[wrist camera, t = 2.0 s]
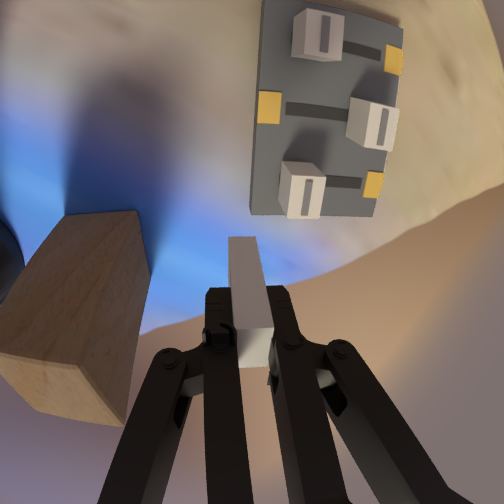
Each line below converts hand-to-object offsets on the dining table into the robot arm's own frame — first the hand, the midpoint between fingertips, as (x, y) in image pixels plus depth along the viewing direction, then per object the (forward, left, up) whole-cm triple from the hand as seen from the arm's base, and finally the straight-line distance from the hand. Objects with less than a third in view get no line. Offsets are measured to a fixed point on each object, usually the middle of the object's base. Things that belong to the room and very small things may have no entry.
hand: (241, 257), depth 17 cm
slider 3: (+12, +7, -12) cm, 19 cm away
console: (+9, +7, -15) cm, 19 cm away
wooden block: (-15, -9, -15) cm, 23 cm away
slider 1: (+6, +14, -12) cm, 20 cm away
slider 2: (+6, 0, -12) cm, 14 cm away
